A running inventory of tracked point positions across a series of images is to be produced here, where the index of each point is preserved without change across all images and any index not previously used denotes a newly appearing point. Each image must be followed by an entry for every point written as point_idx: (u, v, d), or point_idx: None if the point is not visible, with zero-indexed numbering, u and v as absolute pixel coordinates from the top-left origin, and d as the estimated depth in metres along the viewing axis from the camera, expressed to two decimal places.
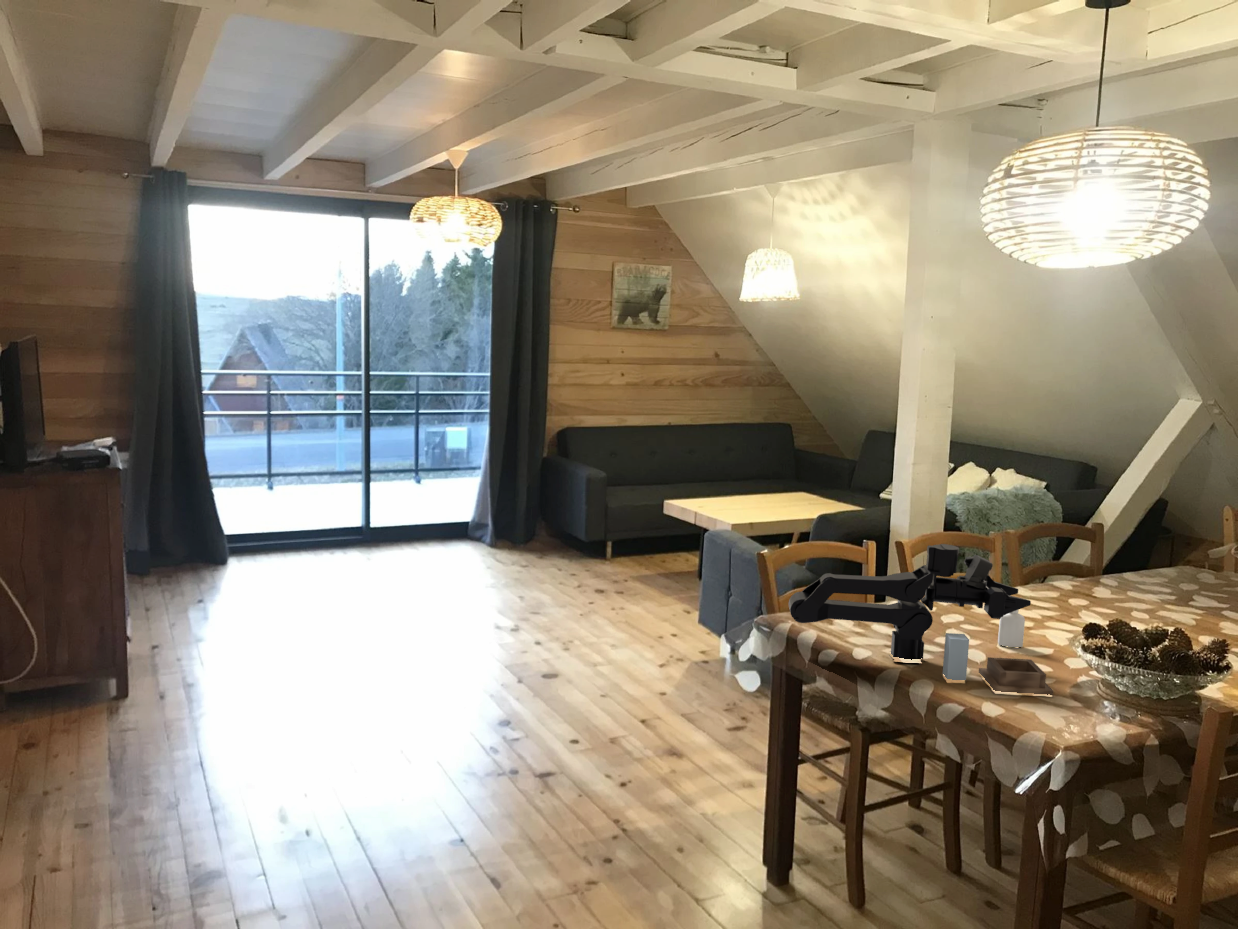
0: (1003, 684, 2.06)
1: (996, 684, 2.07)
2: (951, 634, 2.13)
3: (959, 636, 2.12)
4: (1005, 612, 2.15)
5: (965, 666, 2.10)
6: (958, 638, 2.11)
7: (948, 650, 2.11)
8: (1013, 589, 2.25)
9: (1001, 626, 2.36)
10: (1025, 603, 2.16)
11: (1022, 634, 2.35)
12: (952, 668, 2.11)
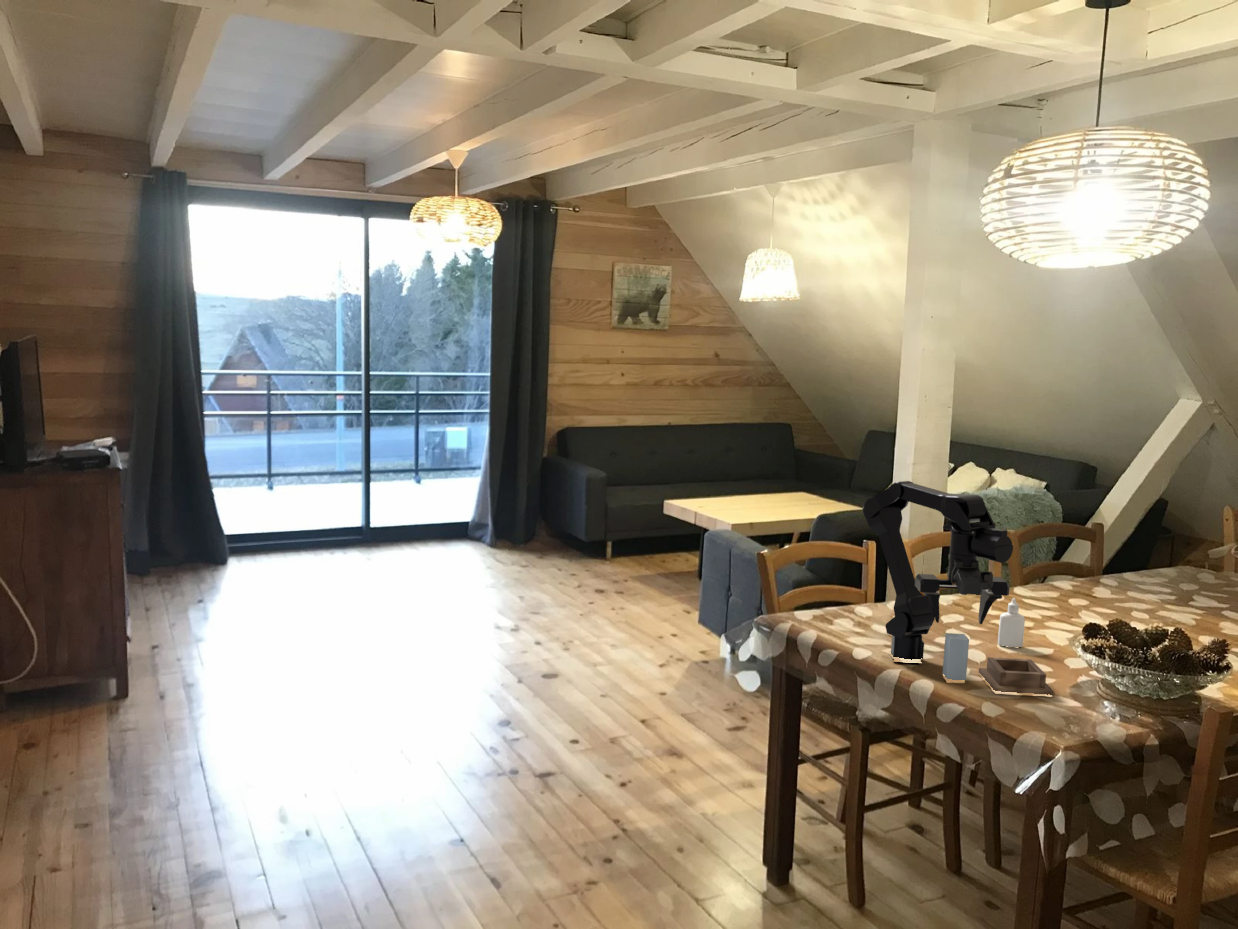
0: (1003, 684, 2.06)
1: (996, 684, 2.07)
2: (951, 633, 2.13)
3: (959, 636, 2.12)
4: None
5: (965, 666, 2.10)
6: (958, 638, 2.11)
7: (948, 650, 2.11)
8: (980, 619, 2.10)
9: (1001, 626, 2.36)
10: (935, 616, 2.12)
11: (1022, 634, 2.35)
12: (952, 668, 2.11)
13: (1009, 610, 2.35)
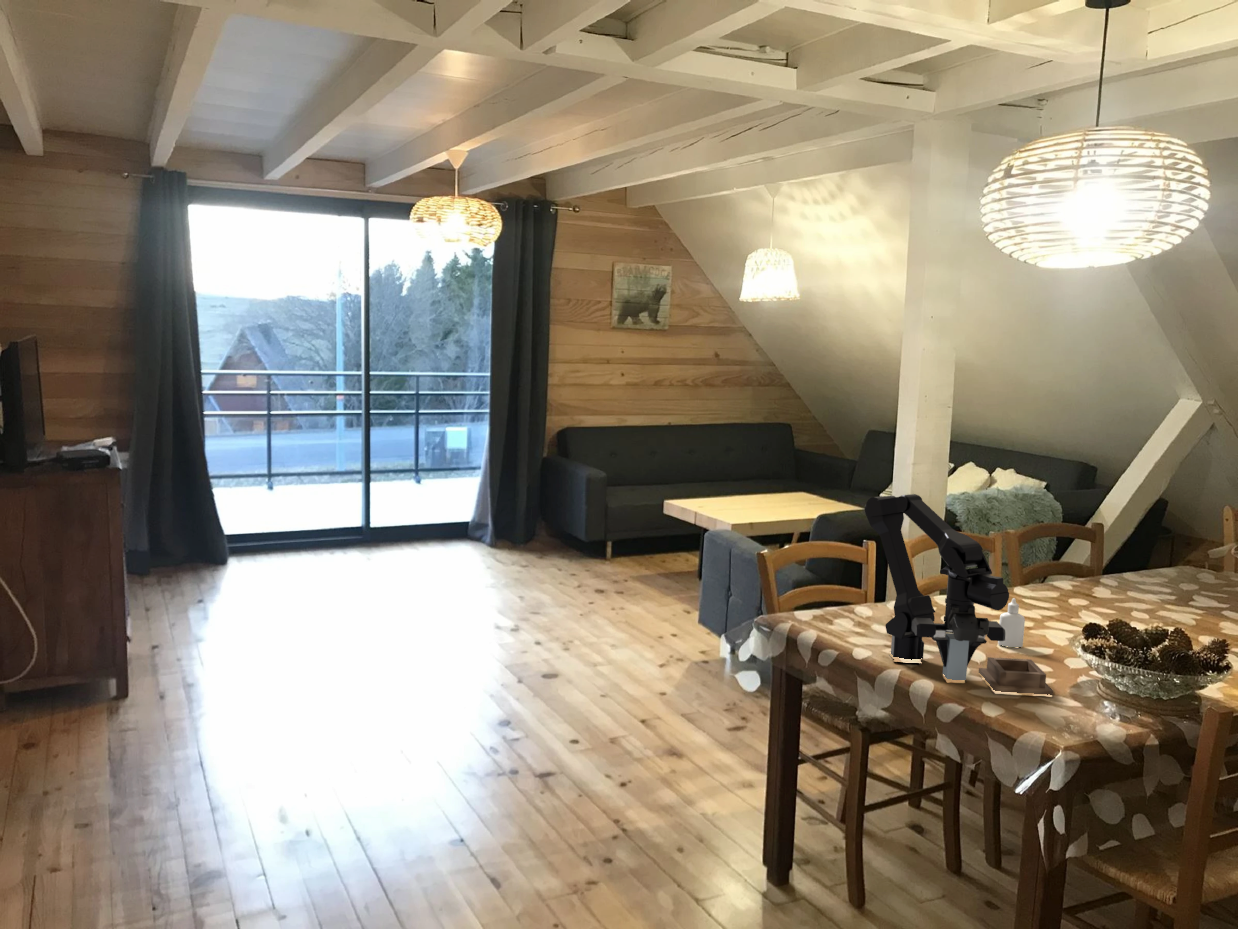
0: (1003, 684, 2.06)
1: (996, 684, 2.07)
2: (951, 634, 2.13)
3: None
4: None
5: (965, 666, 2.10)
6: None
7: (948, 650, 2.11)
8: None
9: None
10: (942, 660, 2.13)
11: (1022, 634, 2.35)
12: (952, 668, 2.11)
13: (1009, 610, 2.35)
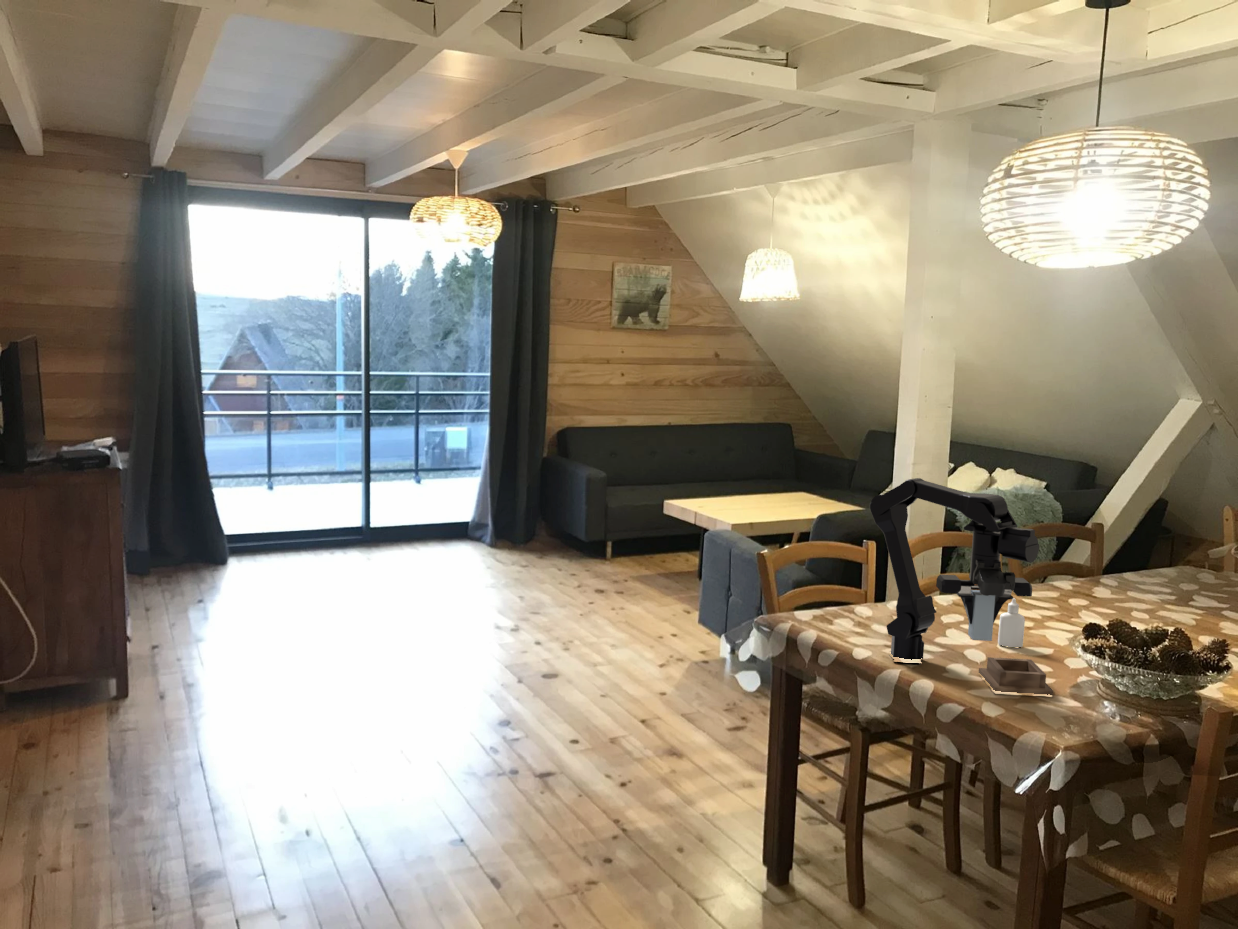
0: (1003, 684, 2.06)
1: (996, 684, 2.07)
2: (976, 590, 2.11)
3: None
4: None
5: (991, 623, 2.08)
6: None
7: (974, 606, 2.08)
8: None
9: (1001, 626, 2.36)
10: (968, 617, 2.10)
11: (1022, 634, 2.35)
12: (977, 624, 2.08)
13: (1009, 610, 2.35)
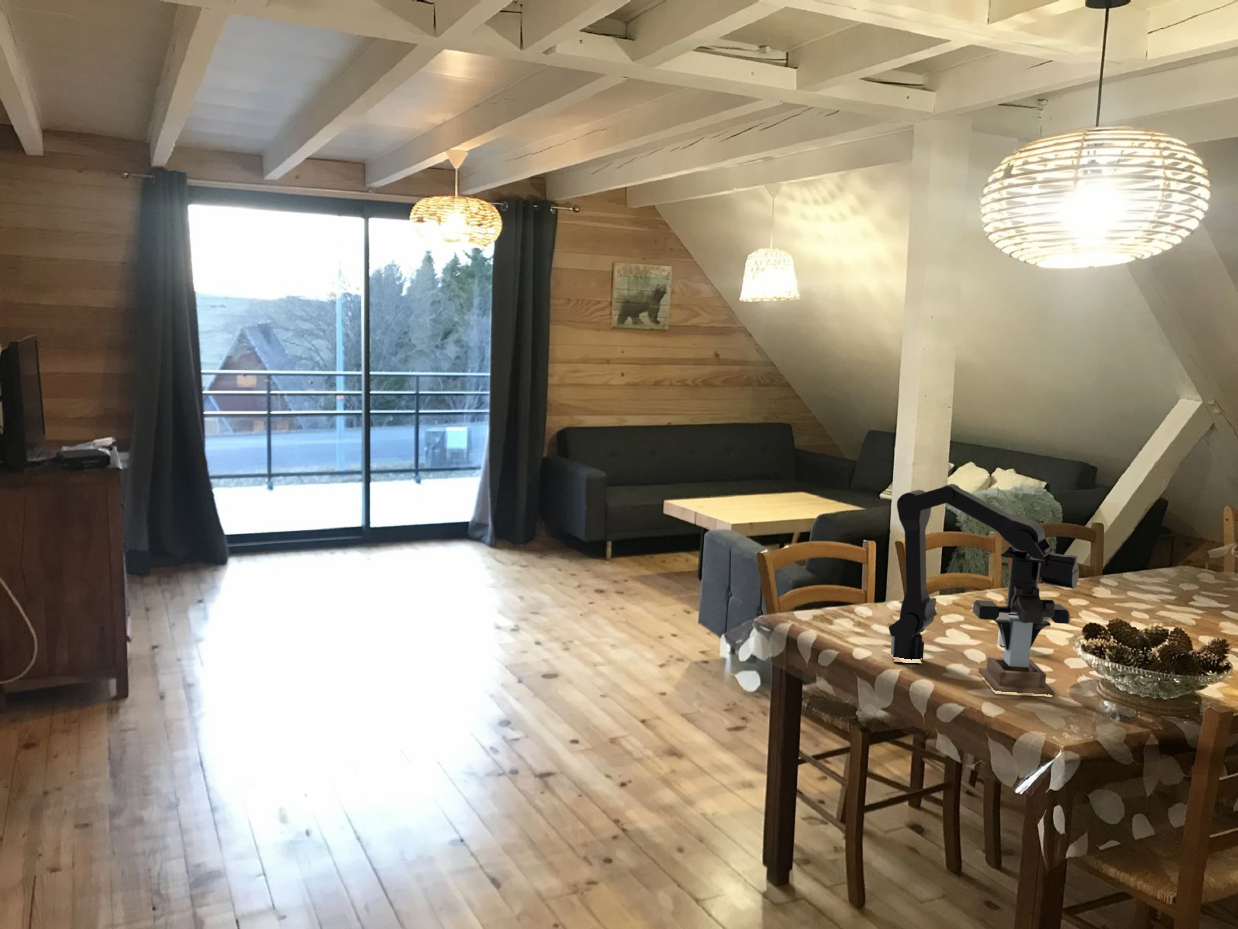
0: (1003, 684, 2.06)
1: (996, 684, 2.07)
2: (1013, 616, 2.10)
3: None
4: None
5: (1028, 649, 2.07)
6: None
7: (1011, 633, 2.08)
8: None
9: None
10: (1004, 643, 2.10)
11: None
12: (1015, 651, 2.08)
13: None
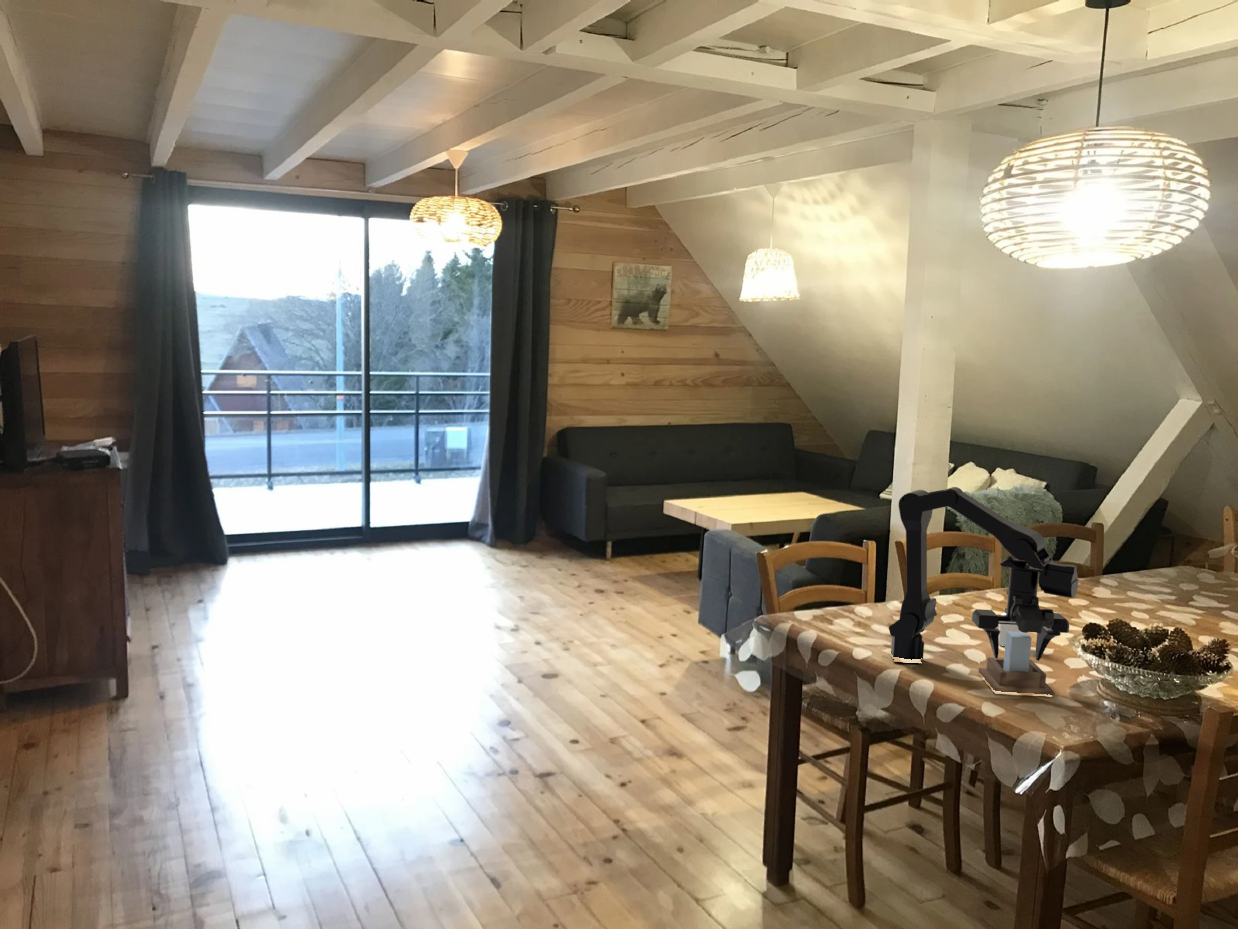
0: (1003, 684, 2.06)
1: (996, 684, 2.07)
2: (1012, 632, 2.11)
3: (1020, 634, 2.09)
4: None
5: (1027, 665, 2.08)
6: (1020, 636, 2.08)
7: (1010, 649, 2.08)
8: (1037, 655, 2.09)
9: (1001, 626, 2.36)
10: (993, 652, 2.10)
11: None
12: (1013, 666, 2.08)
13: None
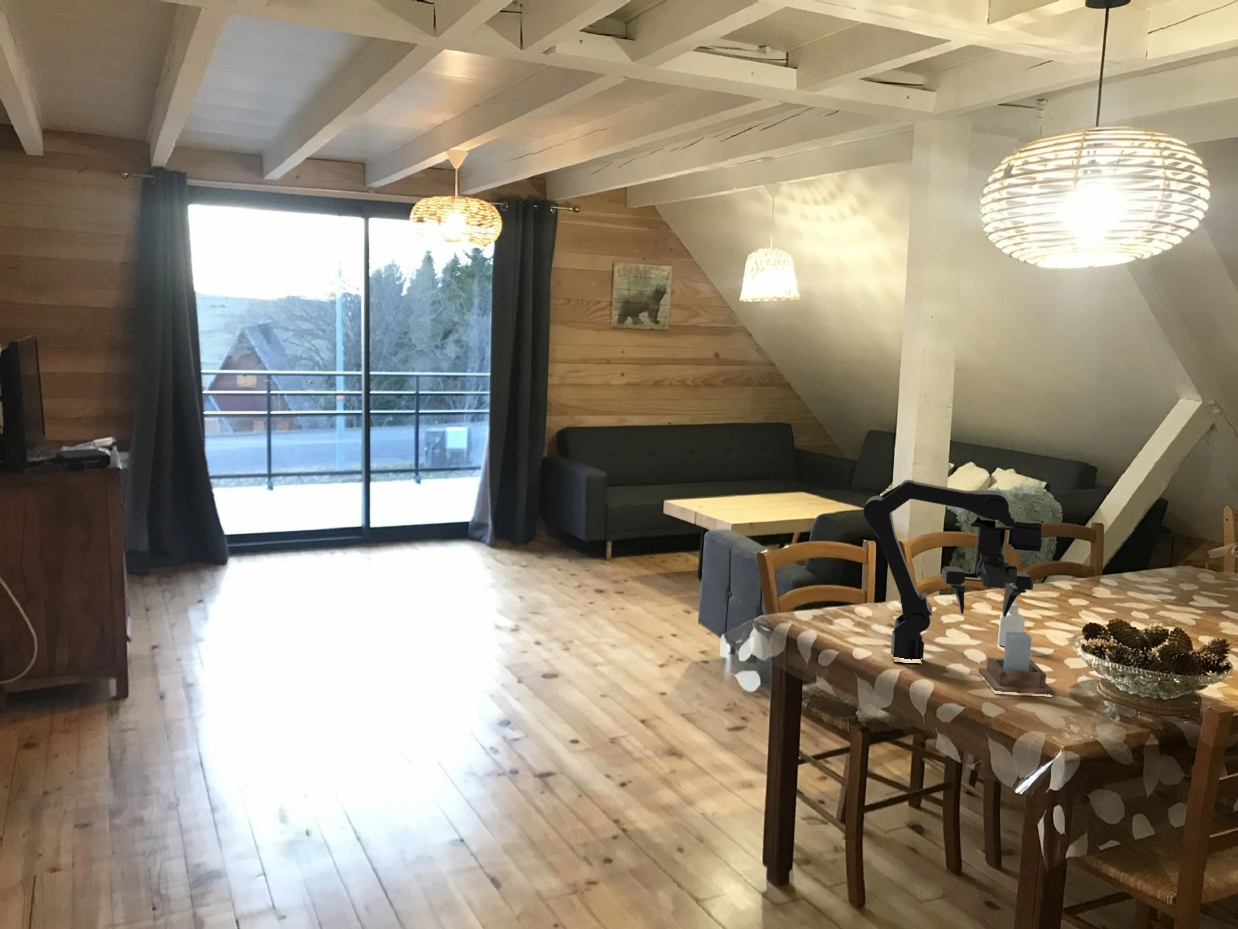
0: (1003, 684, 2.06)
1: (996, 684, 2.07)
2: (1012, 632, 2.11)
3: (1020, 634, 2.09)
4: None
5: (1027, 665, 2.08)
6: (1020, 636, 2.08)
7: (1010, 649, 2.08)
8: (1004, 612, 2.18)
9: (1001, 626, 2.36)
10: (959, 607, 2.19)
11: None
12: (1013, 666, 2.08)
13: (1009, 610, 2.35)
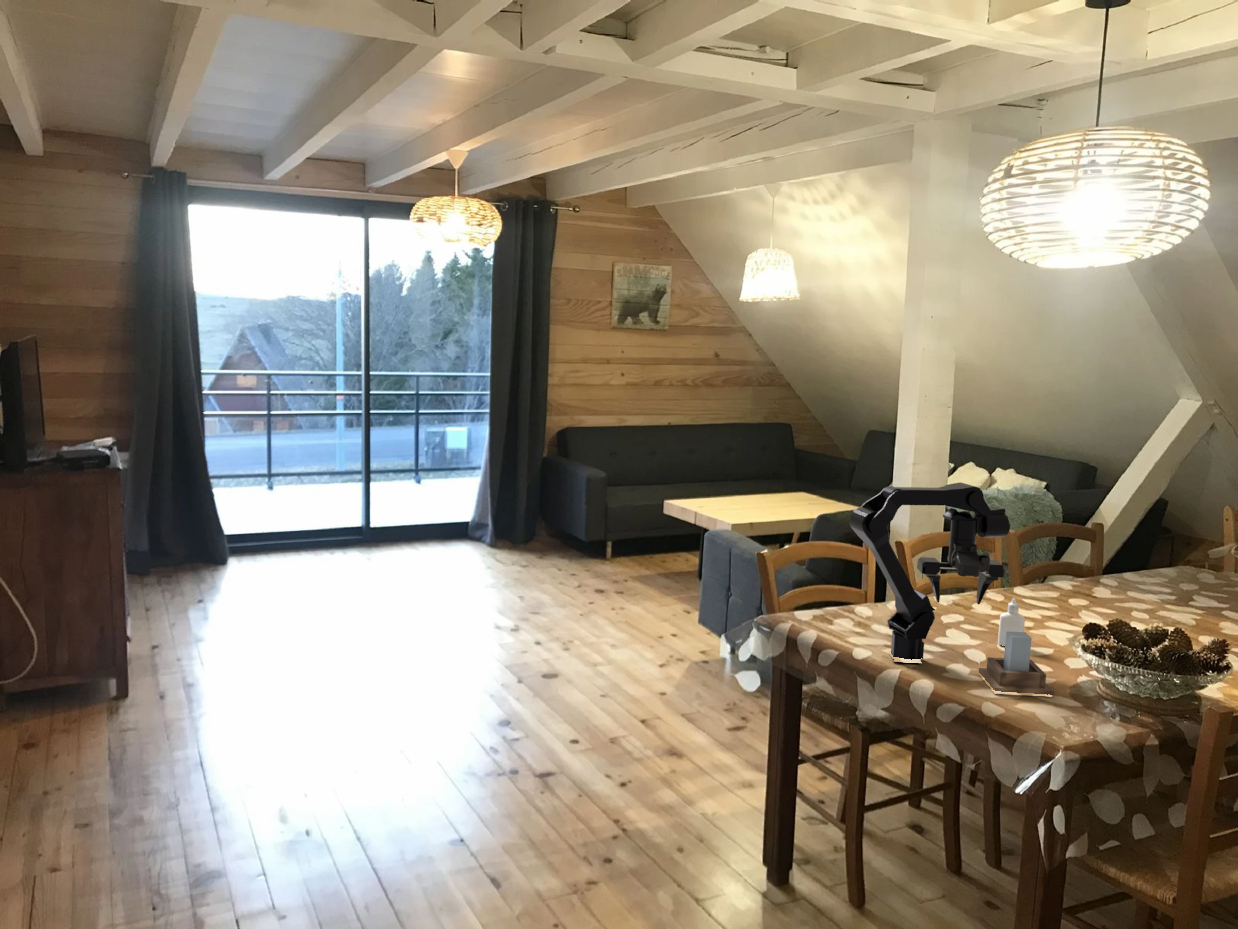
0: (1003, 684, 2.06)
1: (996, 684, 2.07)
2: (1012, 632, 2.11)
3: (1020, 634, 2.09)
4: None
5: (1027, 665, 2.08)
6: (1020, 636, 2.08)
7: (1010, 649, 2.08)
8: (978, 599, 2.26)
9: (1001, 626, 2.36)
10: (935, 596, 2.27)
11: None
12: (1013, 666, 2.08)
13: (1009, 610, 2.35)
